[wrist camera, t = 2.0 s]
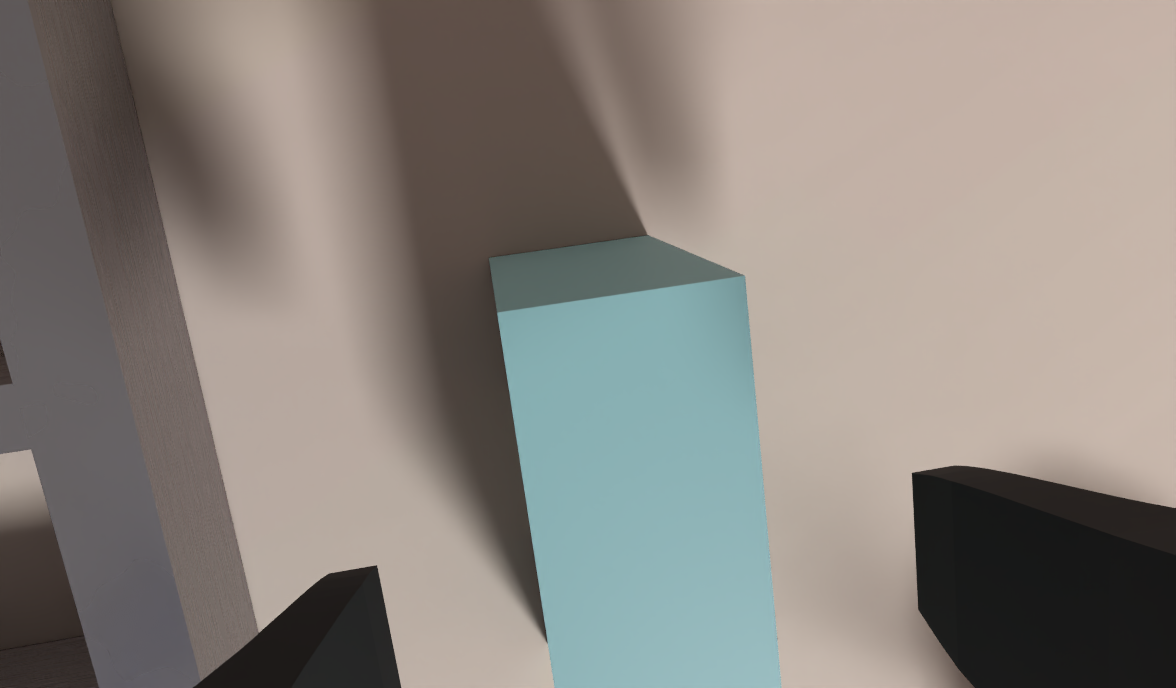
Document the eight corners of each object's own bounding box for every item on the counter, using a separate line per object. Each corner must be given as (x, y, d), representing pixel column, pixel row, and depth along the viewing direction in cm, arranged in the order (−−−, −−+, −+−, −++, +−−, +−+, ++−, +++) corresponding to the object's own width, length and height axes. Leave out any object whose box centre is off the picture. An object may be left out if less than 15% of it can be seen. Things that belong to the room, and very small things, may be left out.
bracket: (691, 618, 18) (794, 836, 12) (548, 645, 18) (584, 881, 12) (647, 235, 16) (745, 275, 10) (488, 257, 16) (497, 312, 10)
